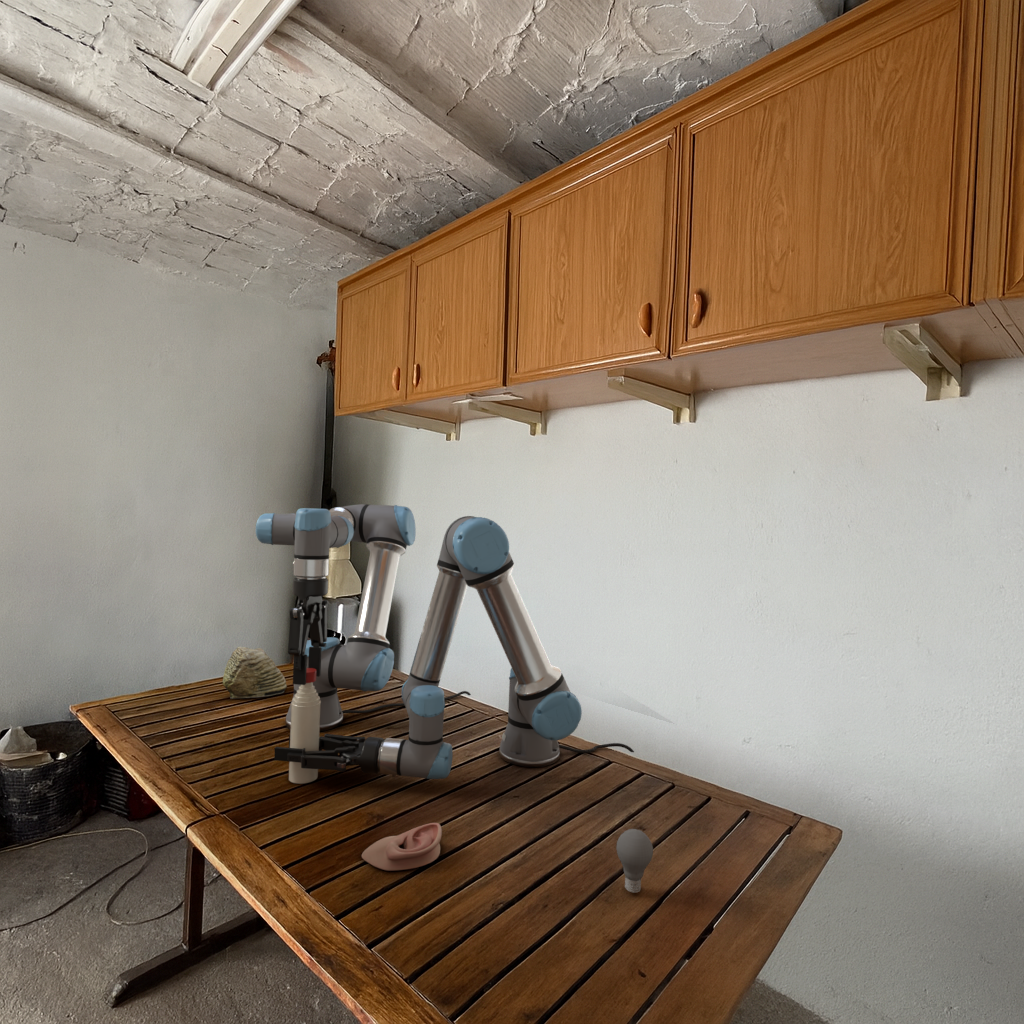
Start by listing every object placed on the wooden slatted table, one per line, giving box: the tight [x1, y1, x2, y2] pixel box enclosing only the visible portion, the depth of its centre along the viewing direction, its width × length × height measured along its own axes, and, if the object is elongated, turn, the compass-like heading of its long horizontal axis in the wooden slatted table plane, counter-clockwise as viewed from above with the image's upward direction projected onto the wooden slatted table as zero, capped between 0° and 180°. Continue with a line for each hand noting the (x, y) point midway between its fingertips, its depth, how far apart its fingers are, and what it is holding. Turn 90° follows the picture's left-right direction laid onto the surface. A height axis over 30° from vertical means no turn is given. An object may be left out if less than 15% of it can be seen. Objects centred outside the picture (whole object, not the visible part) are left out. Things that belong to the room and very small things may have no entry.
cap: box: [306, 668, 316, 683], centre depth 142 cm, size 4×4×2 cm
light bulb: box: [615, 828, 654, 894], centre depth 106 cm, size 6×6×10 cm
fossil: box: [222, 646, 288, 699], centre depth 198 cm, size 9×18×15 cm, turn 132°
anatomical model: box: [361, 822, 443, 872], centre depth 114 cm, size 13×4×12 cm
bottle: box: [288, 682, 321, 785], centre depth 142 cm, size 6×6×24 cm
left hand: (306, 679), depth 142 cm, fingers open, 6 cm apart
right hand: (282, 747), depth 143 cm, fingers closed on bottle, 6 cm apart
